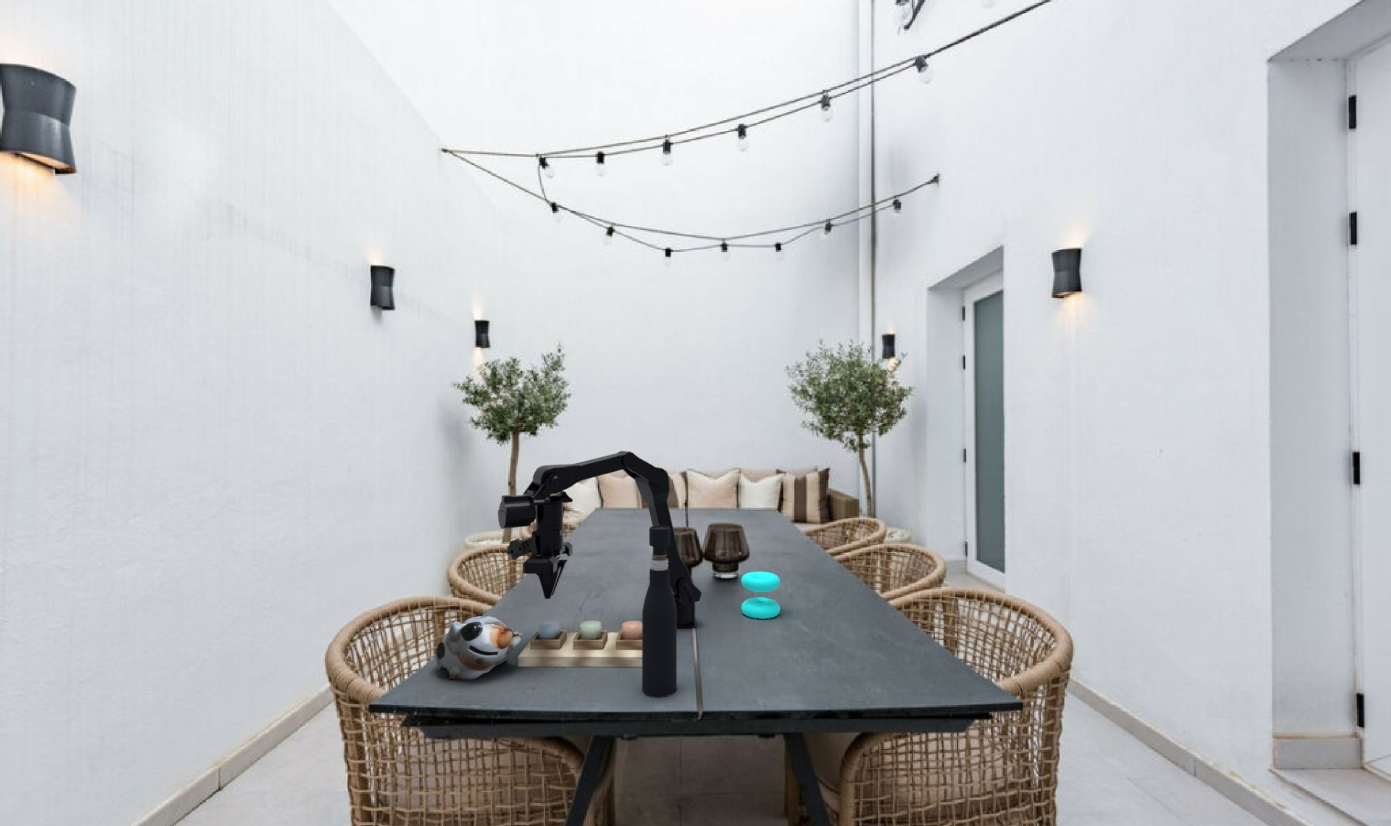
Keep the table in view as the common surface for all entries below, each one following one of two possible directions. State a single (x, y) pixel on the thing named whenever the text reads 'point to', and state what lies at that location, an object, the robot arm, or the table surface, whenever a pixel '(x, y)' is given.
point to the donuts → (760, 605)
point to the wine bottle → (659, 622)
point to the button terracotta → (632, 630)
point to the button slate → (548, 629)
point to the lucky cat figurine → (475, 647)
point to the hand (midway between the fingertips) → (549, 597)
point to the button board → (582, 651)
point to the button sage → (590, 629)
